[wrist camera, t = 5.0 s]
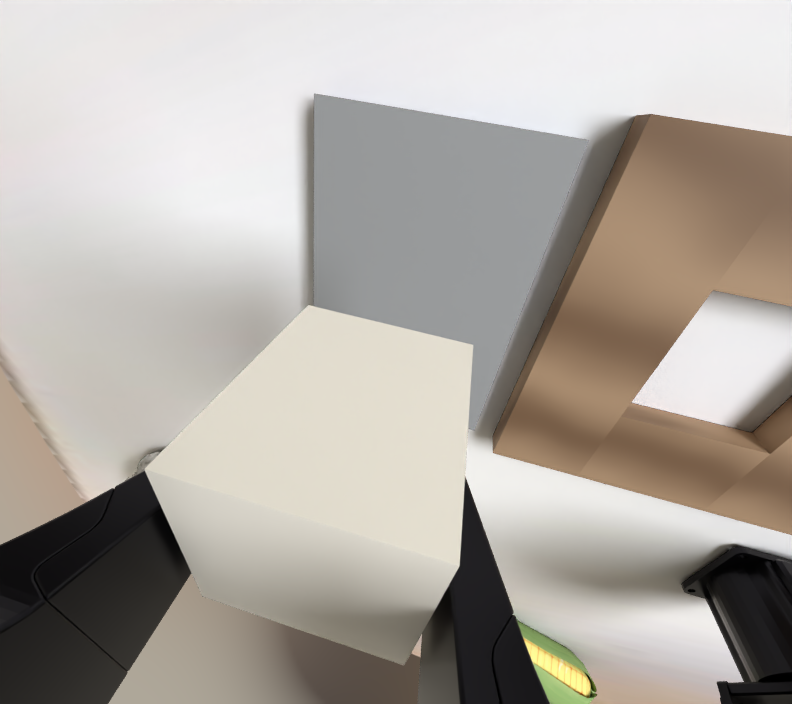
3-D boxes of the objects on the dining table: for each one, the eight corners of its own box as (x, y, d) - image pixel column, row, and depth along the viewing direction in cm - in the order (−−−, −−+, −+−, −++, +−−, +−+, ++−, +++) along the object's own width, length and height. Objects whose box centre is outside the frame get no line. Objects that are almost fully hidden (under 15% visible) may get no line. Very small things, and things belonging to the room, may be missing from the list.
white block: (436, 456, 13) (404, 665, 8) (308, 420, 13) (202, 596, 8) (473, 344, 10) (459, 565, 5) (308, 304, 10) (143, 469, 5)
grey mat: (474, 419, 23) (474, 430, 22) (319, 378, 24) (313, 387, 23) (583, 139, 14) (589, 140, 13) (323, 95, 15) (314, 93, 14)
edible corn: (568, 716, 37) (606, 733, 33) (417, 626, 34) (441, 634, 31) (571, 657, 40) (606, 666, 36) (434, 571, 38) (457, 572, 34)
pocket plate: (781, 513, 21) (799, 537, 20) (492, 435, 23) (492, 452, 22) (1219, 208, 11) (1311, 218, 10) (635, 115, 13) (651, 114, 12)
